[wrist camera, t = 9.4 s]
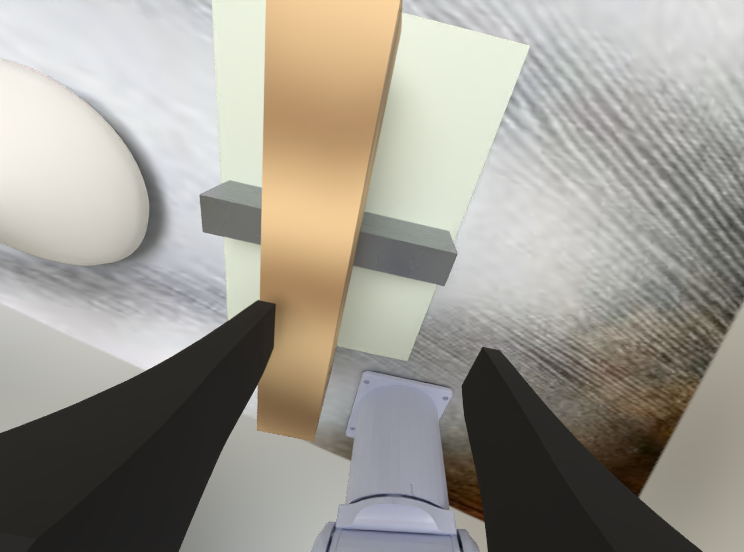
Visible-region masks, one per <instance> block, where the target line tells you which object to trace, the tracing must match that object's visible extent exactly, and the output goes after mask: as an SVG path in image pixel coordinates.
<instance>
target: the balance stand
mask: <svg viewBox="0 0 744 552" xmlns="http://www.w3.org/2000/svg"><path fill="white" fill-rule="evenodd" d="M212 13H213V33H214V53H215V73H216V93H217V113H218V133H219V153H220V173H221V184H220V185H218V186H216V187H214V188H212V189H210V190H208V191H206V192H204V193H202V194H200V205H201V216H202V227H203V232H205V233H209V234H214V235H218V236H223V237H224V252H225V272H226V292H227V312H228V320H230V319H231V318H233V317H234V316H236V315H237V314H238V313H240V312H241V311H243V310H244V309H245V308H247V307H248V306H250V305H251V304H252V303H254V302H255V301H257V300H260V263H261V214H262V165H263V116H264V68H265V19H266V0H212ZM529 47H530V46H529V45H525V44H521V43H517V42H513V41H510V40H506V39H502V38H498V37H494V36H490V35H487V34H483V33H479V32H475V31H471V30H467V29H464V28H460V27H456V26H452V25H448V24H444V23H441V22H437V21H433V20H429V19H425V18H421V17H418V16H414V15H410V14H406V13H402V29H401V35H400V40H399V45H398V50H397V55H396V60H395V64H394V69H393V74H392V79H391V84H390V89H389V94H388V98H387V103H386V108H385V113H384V118H383V123H382V128H381V132H380V137H379V142H378V147H377V152H376V157H375V162H374V166H373V171H372V176H371V181H370V186H369V191H368V196H367V200H366V205H365V210H364V215H363V220H362V225H361V230H360V234H359V239H358V244H357V249H356V254H355V259H354V264H353V268H352V273H351V278H350V283H349V288H348V293H347V298H346V302H345V307H344V312H343V317H342V322H341V327H340V332H339V336H338V341H337V346H338V347H342V348H347V349H352V350H356V351H361V352H366V353H370V354H375V355H380V356H385V357H389V358H394V359H399V360H403V361H408V358H409V356H410V353H411V351H412V348H413V346H414V343H415V340H416V338H417V335H418V333H419V330H420V328H421V325H422V322H423V320H424V317H425V315H426V312H427V310H428V307H429V304H430V302H431V299H432V297H433V294H434V292H435V289H436V286H437V285H441V286H445V284H446V281H447V279H448V276H449V274H450V271H451V269H452V266H453V264H454V261H455V259H456V256H457V251H456V248H455V246H454V240H455V238H456V235H457V232H458V230H459V227H460V225H461V222H462V220H463V217H464V214H465V212H466V209H467V207H468V204H469V202H470V199H471V196H472V194H473V191H474V189H475V186H476V184H477V181H478V178H479V176H480V173H481V171H482V168H483V166H484V163H485V161H486V158H487V155H488V153H489V150H490V148H491V145H492V143H493V140H494V137H495V135H496V132H497V130H498V127H499V125H500V122H501V119H502V117H503V114H504V112H505V109H506V107H507V104H508V101H509V99H510V96H511V94H512V91H513V89H514V86H515V83H516V81H517V78H518V76H519V73H520V71H521V68H522V65H523V63H524V60H525V58H526V55H527V53H528V50H529Z"/></svg>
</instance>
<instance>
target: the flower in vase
mask: <svg viewBox="0 0 744 552" xmlns="http://www.w3.org/2000/svg"><path fill="white" fill-rule="evenodd" d="M148 218H149V200H148V194H147V189H146V186H145V183H144V180H143V177H142V175H141V172H140V170H139V167H138V165H137V163H136V162H135V160H134V158H133V156H132V154H131V152H130V151H129V149H128V148H127V146H126V145H125V143H124V142H123V140H122V139H121V138H120V137H119V135H118V134H117V133H116V132H115V130H114V129H113V128H112V127H111V126H110V125H109V124H108V123H107V122H106V120H105V119H104V118H103V117H102V116H101V115H100V114H99V113H98V112H96V111H95V110H94V109H93V108H92V107H91V106H90V105H89V104H88V103H86V102H85V101H84V100H82V99H81V98H80V97H78V96H77V95H76V94H74V93H73V92H72V91H70V90H69V89H67V88H66V87H64V86H63V85H61V84H60V83H58V82H56V81H55V80H53V79H52V78H50V77H48V76H46V75H45V74H43V73H41V72H39V71H37V70H35V69H33V68H30V67H27V66H25V65H22V64H19V63H17V62H13V61H9V60H5V59H1V58H0V243H3V244H5V245H8V246H10V247H13V248H15V249H18V250H20V251H23V252H26V253H28V254H31V255H34V256H37V257H40V258H44V259H48V260H52V261H57V262H61V263H66V264H70V265H79V266H92V265H99V264H106V263H113V262H116V261H119V260H122V259H124V258H126V257H128V256H129V255H131V254H132V253H133V252H134V251H135V250H136V249H137V248H138V247H139V246H140V244H141V243H142V241H143V239H144V237H145V234H146V230H147V226H148Z"/></svg>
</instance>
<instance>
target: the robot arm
mask: <svg viewBox="0 0 744 552" xmlns="http://www.w3.org/2000/svg"><path fill="white" fill-rule="evenodd" d="M275 311H276V304H275V303H270V302H265V301H260V300H257V301H255V302H254V303H252V304H251V305H250V306H248V307H247V308H245V309H244V310H243V311H241V312H240V313H238V314H237V315H236V316H234V317H233V318H231V319H230V320H228V321H227V322H226V323H224V324H223V325H221V326H220V327H218V328H217V329H215V330H214V331H212V332H211V333H209V334H208V335H206V336H205V337H203V338H202V339H200V340H198V341H197V342H195V343H194V344H192V345H190V346H189V347H187V348H185V349H184V350H182V351H180V352H179V353H177V354H175V355H174V356H172V357H170V358H169V359H167V360H165V361H163V362H161V363H160V364H158V365H156V366H154V367H152V368H150V369H149V370H147V371H145V372H143V373H141V374H139V375H137V376H135V377H133V378H131V379H129V380H127V381H125V382H123V383H121V384H118V385H116V386H114V387H112V388H110V389H107V390H105V391H103V392H101V393H98V394H96V395H94V396H92V397H90V398H88V399H85V400H83V401H81V402H79V403H76V404H74V405H72V406H69V407H67V408H64V409H62V410H59V411H57V412H54V413H52V414H49V415H47V416H44V417H42V418H39V419H37V420H34V421H32V422H29V423H26V424H24V425H21V426H19V427H16V428H13V429H11V430H8V431H5V432H2V433H0V552H179V549H180V547H181V544H182V542H183V540H184V537H185V535H186V532H187V530H188V527H189V525H190V522H191V520H192V518H193V515H194V513H195V511H196V508H197V506H198V504H199V501H200V499H201V497H202V494H203V492H204V490H205V487H206V485H207V483H208V480H209V478H210V476H211V474H212V471H213V469H214V467H215V464H216V462H217V460H218V458H219V455H220V453H221V451H222V449H223V447H224V445H225V443H226V441H227V439H228V437H229V435H230V433H231V432H232V430H233V428H234V426H235V425H236V423H237V421H238V419H239V417H240V415H241V414H242V412H243V410H244V408H245V406H246V405H247V403H248V401H249V399H250V397H251V396H252V394H253V392H254V390H255V388H256V386H257V385H258V383H259V381H260V379H261V377H262V375H263V373H264V371H265V368H266V366H267V364H268V361H269V359H270V356H271V354H272V351H273V349H274V334H275ZM452 396H453V391H452V389H450V388H447V387H443V386H438V385H433V384H428V383H423V382H419V381H414V380H409V379H404V378H400V377H395V376H390V375H385V374H381V373H376V372H371V371H365V372H363V374H362V377H361V380H360V384H359V387H358V391H357V394H356V398H355V401H354V405H353V408H352V412H351V415H350V419H349V422H348V426H347V429H346V435H347V436H348V437H352V438H354V443H353V450H352V458H351V466H350V473H349V481H348V488H347V496H346V503H345V505H339V508H338V514H337V521H336V522H328V523H327V524H326V525H325V527H324V528H323V530H322V531H321V532H320V533H319V534H318V536H317V538H316V540H315V542H314V545H313V548H312V550H311V552H480V551H479V548H478V546H477V544H476V542H475V541H474V540H473V539H472V538H471V537H470V535H469V533H468V532H467V531H466V530H465V529H457V531H456V523H455V516H454V511H453V510H449V502H448V494H447V485H446V477H445V469H444V461H443V452H442V444H441V436H440V428H439V420H440V418H441V416H442V414H443V412H444V410H445V409H446V407H447V405H448V403H449V401H450V399H451V398H452ZM462 398H463V409H464V417H465V422H466V427H467V432H468V436H469V441H470V446H471V450H472V455H473V459H474V464H475V468H476V473H477V478H478V482H479V487H480V493H481V498H482V505H483V513H484V521H485V529H486V537H487V546H488V552H702V551H701V550H700V549H699V548H698V547H696V546H695V545H694V544H692V543H691V542H690V541H689V540H688V539H686V538H685V537H684V536H683V535H681V534H680V533H679V532H678V531H677V530H675V529H674V528H673V527H671V525H669V524H668V523H667V522H666V521H665V520H663V519H662V518H661V517H660V516H659V515H657V514H656V513H655V512H654V511H653V510H652V509H651V508H649V507H648V506H647V505H646V504H645V503H644V502H643V501H641V500H640V499H639V498H638V497H637V496H636V495H635V494H633V493H632V492H631V491H630V490H629V489H628V488H627V487H626V486H625V485H624V484H622V483H621V482H620V481H619V480H618V479H617V478H616V477H615V476H614V475H613V474H612V473H611V472H610V471H609V470H608V469H607V468H605V467H604V466H603V465H602V464H601V463H600V462H599V461H598V460H597V459H596V458H595V457H594V456H593V455H592V454H591V453H590V452H589V451H588V450H587V449H586V448H585V447H584V446H583V445H582V444H581V443H580V442H579V441H578V440H577V439H576V438H575V436H574V435H573V434H572V433H571V432H570V431H569V430H568V429H567V428H566V427H565V426H564V425H563V424H562V422H561V421H560V420H559V419H558V418H557V417H556V416H555V415H554V414H553V412H552V411H551V410H550V409H549V408H548V407H547V406H546V404H545V403H544V402H543V401H542V400H541V399H540V397H539V396H538V395H537V394H536V393H535V392H534V390H533V389H532V388H531V387H530V386H529V384H528V383H527V382H526V381H525V380H524V378H523V377H522V376H521V375H520V374H519V372H518V371H517V370H516V369H515V367H514V366H513V365H512V364H511V363H510V362H509V360H508V359H507V358H506V357H505V356H504V355H503V354H502V352H501V351H500V350H495V349H490V348H485V347H482V349H481V351H480V353H479V355H478V356H477V358H476V360H475V362H474V364H473V366H472V368H471V369H470V371H469V373H468V375H467V377H466V379H465V381H464V382H463V384H462Z"/></svg>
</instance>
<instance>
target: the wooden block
mask: <svg viewBox="0 0 744 552" xmlns="http://www.w3.org/2000/svg"><path fill="white" fill-rule="evenodd" d="M401 29H402V0H266V19H265V68H264V116H263V165H262V214H261V263H260V301H265V302H270V303H275V304H276V311H275V334H274V349H273V351H272V354H271V356H270V359H269V361H268V364H267V366H266V368H265V371H264V373H263V375H262V377H261V379H260V381H259V383H258V409H257V430H258V431H263V432H268V433H273V434H278V435H284V436H288V437H293V438H298V439H303V440H308V441H313V442H314V438H315V434H316V430H317V426H318V422H319V418H320V414H321V410H322V406H323V402H324V398H325V394H326V390H327V386H328V382H329V378H330V374H331V370H332V366H333V361H334V356H335V351H336V346H337V341H338V336H339V332H340V327H341V322H342V317H343V312H344V307H345V302H346V298H347V293H348V288H349V283H350V278H351V273H352V268H353V264H354V259H355V254H356V249H357V244H358V239H359V234H360V230H361V225H362V220H363V215H364V210H365V205H366V200H367V196H368V191H369V186H370V181H371V176H372V171H373V166H374V162H375V157H376V152H377V147H378V142H379V137H380V132H381V128H382V123H383V118H384V113H385V108H386V103H387V98H388V94H389V89H390V84H391V79H392V74H393V69H394V64H395V60H396V55H397V50H398V45H399V40H400V35H401Z"/></svg>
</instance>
